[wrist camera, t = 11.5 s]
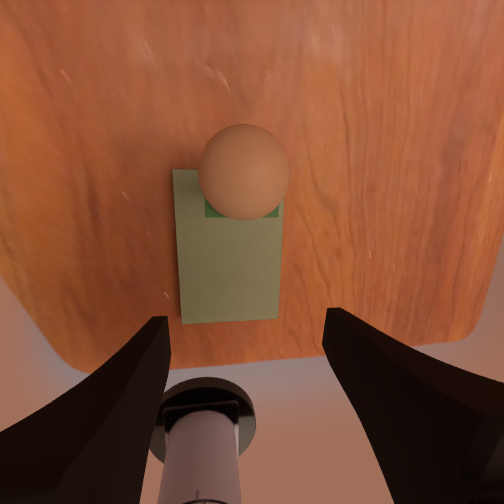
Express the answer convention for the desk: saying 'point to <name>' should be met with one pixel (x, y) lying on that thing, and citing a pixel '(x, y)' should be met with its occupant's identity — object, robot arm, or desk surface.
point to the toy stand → (224, 259)
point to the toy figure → (243, 174)
